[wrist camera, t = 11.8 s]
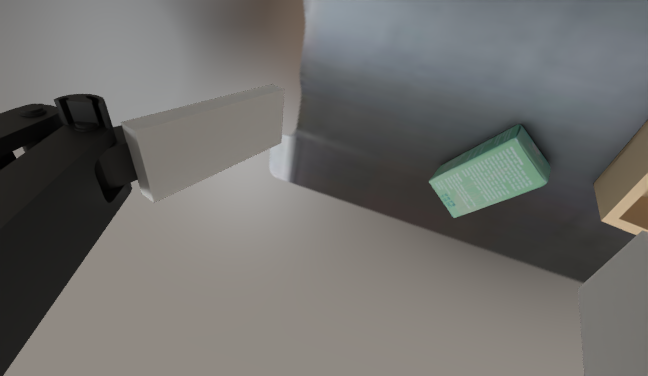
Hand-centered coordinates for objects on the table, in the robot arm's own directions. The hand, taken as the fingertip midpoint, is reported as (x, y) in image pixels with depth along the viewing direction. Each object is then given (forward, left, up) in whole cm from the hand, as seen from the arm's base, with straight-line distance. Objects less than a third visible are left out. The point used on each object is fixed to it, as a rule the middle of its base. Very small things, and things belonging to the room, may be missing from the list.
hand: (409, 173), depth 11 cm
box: (+15, +4, -39) cm, 42 cm away
